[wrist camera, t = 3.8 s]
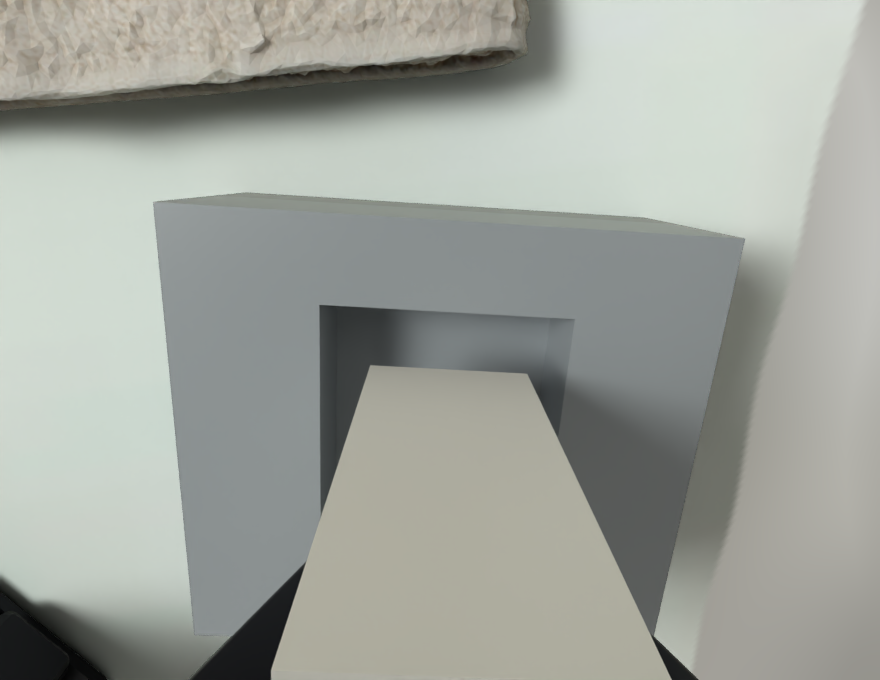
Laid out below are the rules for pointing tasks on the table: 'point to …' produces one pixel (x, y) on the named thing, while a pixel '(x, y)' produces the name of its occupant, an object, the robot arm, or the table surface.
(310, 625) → the plug
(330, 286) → the socket panel
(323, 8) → the washcloth
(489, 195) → the table surface
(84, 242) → the table surface
